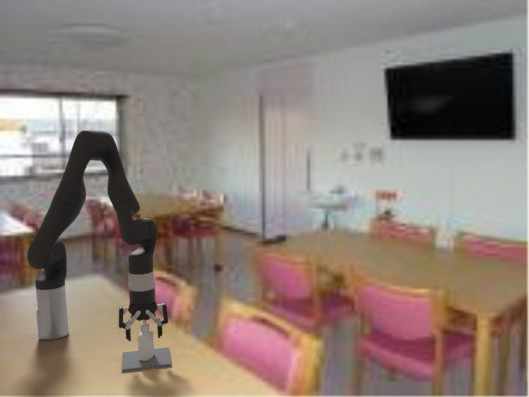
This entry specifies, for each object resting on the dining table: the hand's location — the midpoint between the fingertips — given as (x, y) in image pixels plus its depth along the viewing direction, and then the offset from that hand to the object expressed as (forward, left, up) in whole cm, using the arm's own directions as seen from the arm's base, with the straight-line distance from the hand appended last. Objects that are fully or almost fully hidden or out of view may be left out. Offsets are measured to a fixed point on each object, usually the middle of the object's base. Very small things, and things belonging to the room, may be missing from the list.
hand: (144, 338), depth 159 cm
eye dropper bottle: (0, 0, -6) cm, 6 cm away
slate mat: (0, 0, -7) cm, 7 cm away
